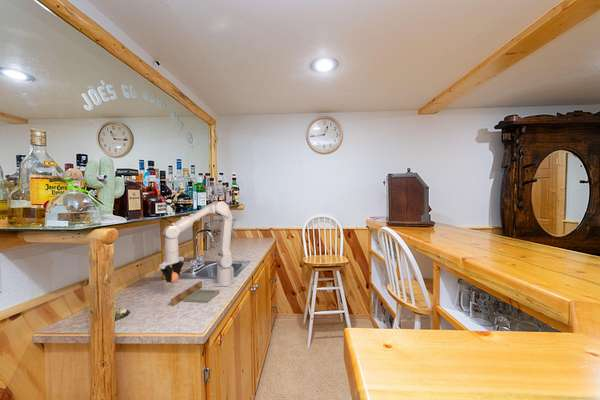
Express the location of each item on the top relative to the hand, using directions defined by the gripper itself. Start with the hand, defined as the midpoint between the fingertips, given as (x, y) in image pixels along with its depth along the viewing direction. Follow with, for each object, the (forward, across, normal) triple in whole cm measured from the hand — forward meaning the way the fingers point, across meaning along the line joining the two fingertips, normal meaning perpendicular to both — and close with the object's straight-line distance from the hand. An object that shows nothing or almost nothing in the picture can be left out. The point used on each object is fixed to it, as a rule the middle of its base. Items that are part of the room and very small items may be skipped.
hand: (172, 279), depth 117 cm
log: (+8, +22, -11) cm, 26 cm away
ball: (-1, 0, 0) cm, 1 cm away
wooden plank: (+8, -1, +7) cm, 10 cm away
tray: (+8, 0, +15) cm, 17 cm away
